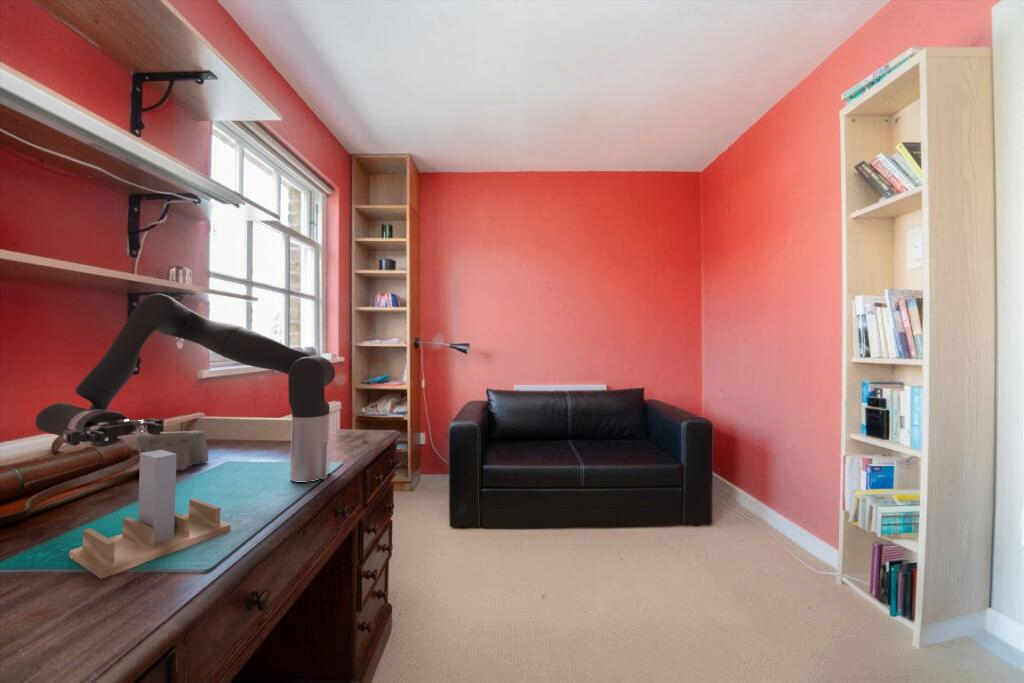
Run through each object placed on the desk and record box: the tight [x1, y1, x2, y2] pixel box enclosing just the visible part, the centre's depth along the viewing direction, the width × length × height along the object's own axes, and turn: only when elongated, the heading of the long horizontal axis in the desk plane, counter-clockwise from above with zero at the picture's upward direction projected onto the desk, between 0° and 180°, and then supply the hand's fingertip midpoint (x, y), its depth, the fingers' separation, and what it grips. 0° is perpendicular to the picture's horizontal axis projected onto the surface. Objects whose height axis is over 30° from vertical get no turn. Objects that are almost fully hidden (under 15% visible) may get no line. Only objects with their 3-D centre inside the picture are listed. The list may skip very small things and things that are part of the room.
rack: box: [69, 497, 231, 579], centre depth 70 cm, size 18×13×4 cm
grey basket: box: [136, 430, 209, 469], centre depth 113 cm, size 16×9×11 cm, turn 98°
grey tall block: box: [137, 450, 177, 543], centre depth 70 cm, size 3×6×15 cm, turn 63°
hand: (131, 433), depth 78 cm, fingers open, 8 cm apart
